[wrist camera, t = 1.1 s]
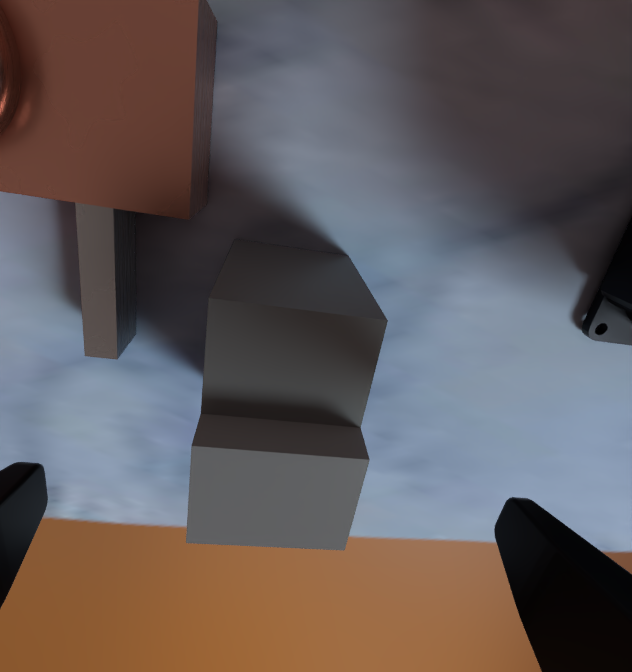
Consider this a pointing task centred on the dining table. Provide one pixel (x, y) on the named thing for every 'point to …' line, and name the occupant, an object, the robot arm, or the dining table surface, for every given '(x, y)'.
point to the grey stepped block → (283, 400)
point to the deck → (108, 130)
